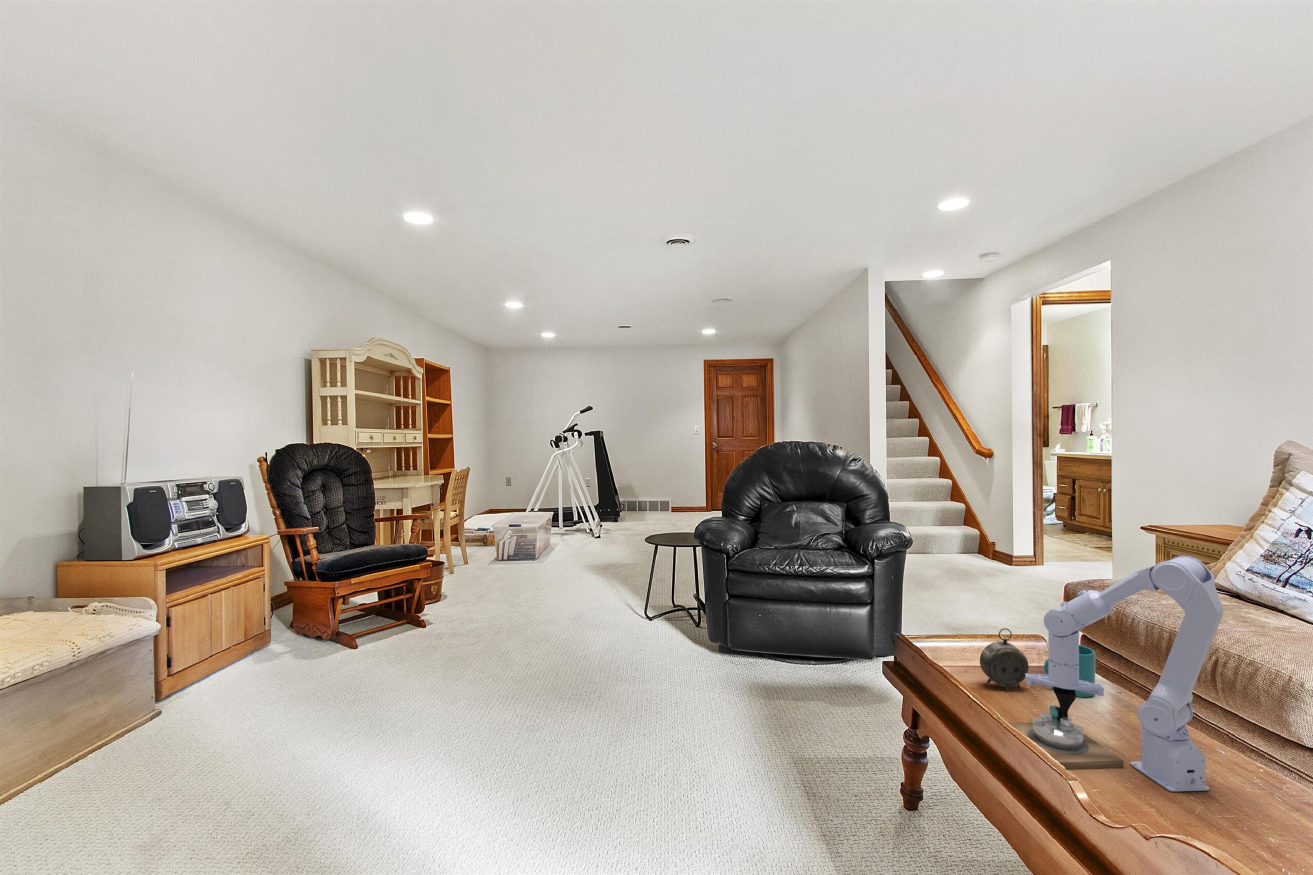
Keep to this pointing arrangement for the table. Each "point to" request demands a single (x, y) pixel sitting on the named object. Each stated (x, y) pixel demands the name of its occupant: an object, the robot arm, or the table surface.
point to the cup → (1083, 668)
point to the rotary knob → (1057, 730)
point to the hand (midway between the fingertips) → (1063, 720)
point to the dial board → (1076, 752)
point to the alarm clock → (1004, 663)
